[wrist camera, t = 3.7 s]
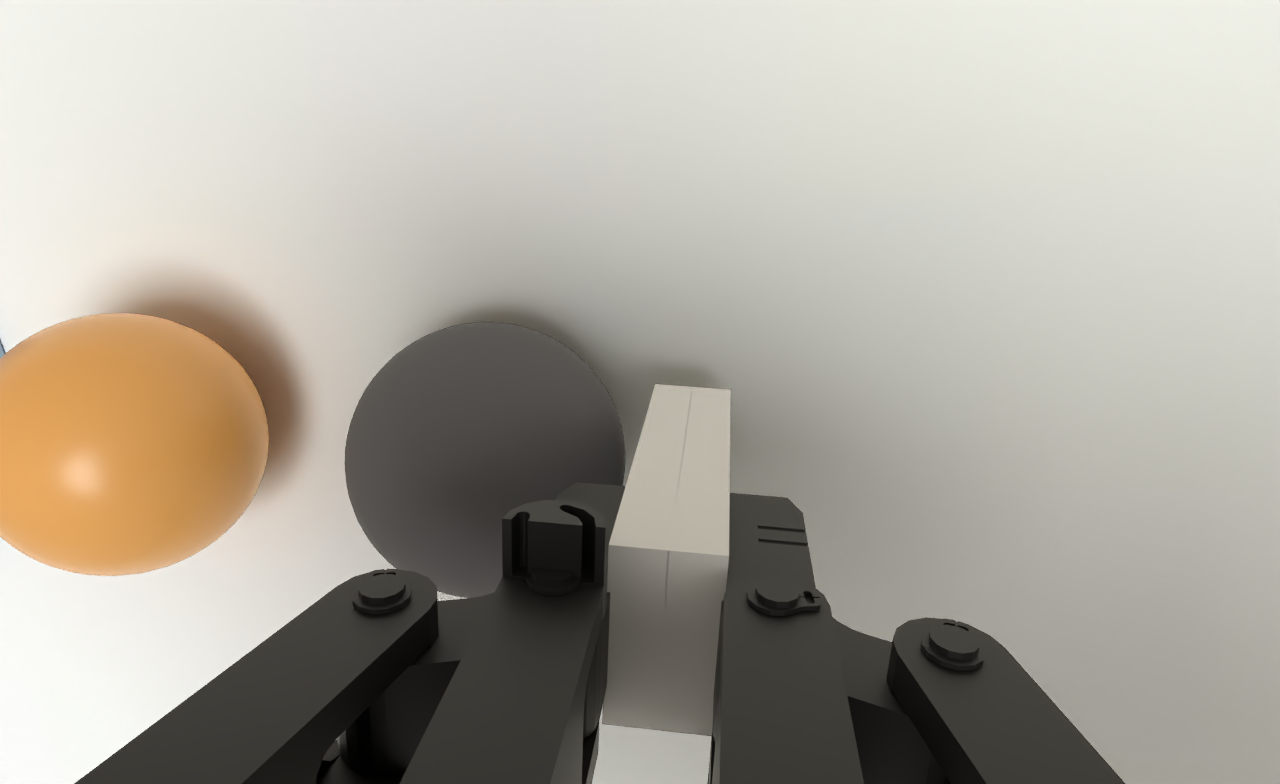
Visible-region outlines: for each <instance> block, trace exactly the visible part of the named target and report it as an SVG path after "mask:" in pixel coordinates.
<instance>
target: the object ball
mask: <svg viewBox="0 0 1280 784" xmlns="http://www.w3.org/2000/svg"><path fill="white" fill-rule="evenodd" d="M268 446H269V433H268V424H267V418H266V414H265V410H264V407H263V404H262V401H261V398H260V396H259V394H258V391H257V389H256V387H255V385H254V384H253V382H252V380H251V379H250V377H249V376H248V374H247V373H246V372H245V370H244V369H243V368H242V366H241V365H240V364H239V363H238V362H237V361H236V360H235V359H234V358H233V357H232V356H231V355H230V354H229V353H228V352H227V351H225V350H224V349H223V348H222V347H221V346H220V345H218V344H217V343H216V342H214V341H213V340H211V339H210V338H208V337H207V336H205V335H203V334H201V333H199V332H197V331H196V330H194V329H191V328H189V327H186V326H184V325H181V324H178V323H176V322H173V321H171V320H167V319H163V318H159V317H154V316H148V315H141V314H132V313H109V314H96V315H90V316H84V317H79V318H75V319H71V320H68V321H64V322H61V323H58V324H56V325H53V326H51V327H48V328H45V329H43V330H41V331H39V332H37V333H36V334H34V335H32V336H30V337H28V338H27V339H25V340H23V341H22V342H20V343H19V344H17V345H16V346H15V347H13V348H12V349H11V350H9V351H8V352H7V353H6V354H5V355H4V356H3V357H1V358H0V537H1V538H2V539H3V540H5V541H6V542H7V543H9V544H10V545H11V546H13V547H14V548H15V549H17V550H19V551H20V552H22V553H23V554H25V555H26V556H28V557H30V558H32V559H34V560H36V561H38V562H41V563H44V564H46V565H49V566H52V567H55V568H58V569H62V570H66V571H69V572H73V573H79V574H86V575H97V576H119V575H129V574H139V573H144V572H148V571H152V570H156V569H160V568H163V567H167V566H170V565H172V564H175V563H177V562H179V561H182V560H184V559H186V558H188V557H191V556H193V555H194V554H196V553H198V552H199V551H201V550H203V549H204V548H206V547H207V546H209V545H210V544H212V543H213V542H215V541H216V540H217V539H218V538H219V537H221V536H222V535H223V534H224V533H225V532H226V531H227V530H228V529H230V528H231V527H232V526H233V525H234V524H235V522H236V521H237V520H238V519H239V518H240V516H241V515H242V514H243V513H244V511H245V510H246V508H247V507H248V506H249V504H250V502H251V501H252V499H253V497H254V496H255V494H256V492H257V489H258V487H259V484H260V482H261V479H262V477H263V474H264V471H265V467H266V462H267V456H268Z"/></svg>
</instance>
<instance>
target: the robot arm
mask: <svg viewBox="0 0 1280 784" xmlns="http://www.w3.org/2000/svg"><path fill="white" fill-rule="evenodd" d="M730 400H731V390H730V389H716V388H703V387H689V386H676V385H662V384H655V387H654V390H653V394H652V397H651V400H650V404H649V407H648V411H647V414H646V418H645V421H644V425H643V428H642V432H641V435H640V438H639V442H638V445H637V449H636V452H635V456H634V459H633V463H632V466H631V469H630V473H629V476H628V480H627V483H626V486H615V485H603V484H592V483H580V482H576V483H574V484H573V485H571V486H570V487H568V488H567V489H565V490H564V491H562V492H561V493H559V494H558V496H557V498H556V500H542V501H536V502H531V503H526V504H523V505H521V506H519V507H516V508H514V509H512V510H510V511H509V512H508V513H507V514H506V515H505V516H504V517H503V518H502V570H503V576H502V578H501V580H500V582H499V584H498V586H497V588H496V590H495V592H493V593H490V594H487V595H484V596H479V597H473V598H467V599H457V600H447V601H437V586H436V585H435V584H434V583H433V582H432V581H431V580H430V579H429V578H428V577H426V576H424V575H421V574H419V573H416V572H414V571H405V570H398V569H387V570H384V569H382V570H375V571H372V572H369V573H366V574H362V575H359V576H355V577H353V578H351V579H349V580H348V581H346V582H344V583H342V584H340V585H338V586H337V587H336V588H334V589H333V590H332V591H330V592H329V593H328V594H326V595H325V596H324V597H322V598H321V599H320V600H318V601H317V602H316V603H314V604H313V605H312V606H310V607H309V608H308V609H306V610H305V611H304V612H302V613H301V614H300V615H298V616H297V617H296V618H294V619H293V620H292V621H290V622H289V623H288V624H286V625H285V626H284V627H282V628H281V629H280V630H278V631H277V632H276V633H274V634H273V635H272V636H270V637H269V638H268V639H266V640H265V641H264V642H262V643H261V644H260V645H258V646H257V647H256V648H254V649H253V650H252V651H250V652H249V653H248V654H246V655H245V656H244V657H242V658H241V659H240V660H238V661H237V662H236V663H234V664H233V665H232V666H230V667H229V668H228V669H226V670H225V671H224V672H222V673H221V674H220V675H218V676H217V677H216V678H214V679H213V680H212V681H210V682H209V683H208V684H207V685H205V686H204V687H203V688H201V689H200V690H199V691H197V692H196V693H195V694H193V695H192V696H191V697H189V698H188V699H187V700H185V701H184V702H183V703H181V704H180V705H179V706H177V707H176V708H175V709H173V710H172V711H171V712H169V713H168V714H167V715H165V716H164V717H163V718H161V719H160V720H159V721H157V722H156V723H155V724H153V725H152V726H151V727H149V728H148V729H147V730H145V731H144V732H143V733H141V734H140V735H139V736H137V737H136V738H135V739H133V740H132V741H131V742H129V743H128V744H127V745H125V746H124V747H123V748H121V749H120V750H119V751H117V752H116V753H115V754H113V755H112V756H111V757H109V758H108V759H107V760H105V761H104V762H103V763H101V764H100V765H99V766H97V767H96V768H95V769H93V770H92V771H91V772H89V773H88V774H87V775H85V776H84V777H83V778H81V779H80V780H79V781H77V782H76V783H75V784H592V779H593V774H594V769H595V765H596V760H597V755H598V741H599V719H600V714H601V710H602V705H603V720H602V724H607V725H616V726H625V727H634V728H644V729H653V730H662V731H671V732H680V733H689V734H698V735H707V736H712V740H711V751H710V763H709V774H708V784H1125V783H1124V782H1123V781H1122V779H1121V778H1120V777H1119V776H1118V775H1117V774H1116V773H1115V772H1114V770H1113V769H1112V768H1111V767H1110V766H1109V765H1108V764H1107V762H1106V761H1105V760H1104V759H1103V758H1102V757H1101V756H1100V755H1099V753H1098V752H1097V751H1096V750H1095V749H1094V748H1093V747H1092V746H1091V744H1090V743H1089V742H1088V741H1087V740H1086V739H1085V738H1084V737H1083V735H1082V734H1081V733H1080V732H1079V731H1078V730H1077V729H1076V727H1075V726H1074V725H1073V724H1072V723H1071V722H1070V721H1069V720H1068V718H1067V717H1066V716H1065V715H1064V714H1063V713H1062V712H1061V711H1060V709H1059V708H1058V707H1057V706H1056V705H1055V704H1054V703H1053V702H1052V700H1051V699H1050V698H1049V697H1048V696H1047V695H1046V694H1045V693H1044V691H1043V690H1042V689H1041V688H1040V687H1039V686H1038V685H1037V683H1036V682H1035V681H1034V680H1033V679H1032V678H1031V677H1030V676H1029V674H1028V673H1027V672H1026V671H1025V670H1024V669H1023V668H1022V667H1021V665H1020V664H1019V663H1018V662H1017V661H1016V660H1015V659H1014V658H1013V656H1012V655H1011V654H1010V653H1009V652H1008V651H1007V650H1006V649H1005V648H1004V647H1003V646H1002V645H1001V644H1000V643H998V642H997V641H996V640H995V639H993V638H992V637H991V636H990V635H988V634H986V633H984V632H982V631H980V630H978V629H976V628H974V627H972V626H970V625H968V624H965V623H962V622H959V621H958V622H955V620H949V619H937V618H922V619H916V620H911V621H908V622H906V623H904V624H903V625H901V626H900V627H898V628H897V629H896V632H895V635H894V638H893V642H889V641H886V640H882V639H879V638H875V637H872V636H869V635H866V634H863V633H860V632H858V631H855V630H852V629H850V628H848V627H847V626H845V625H843V624H841V623H839V622H838V621H836V620H835V619H834V618H833V617H832V614H831V609H830V605H829V604H828V602H827V600H826V598H825V596H824V595H823V594H822V593H821V592H819V591H818V590H817V589H816V588H815V582H814V576H813V570H812V565H811V559H810V553H809V548H808V542H807V536H806V533H805V525H804V519H803V513H802V512H801V511H800V510H799V509H798V508H797V507H796V506H795V505H794V504H793V503H792V502H791V501H790V500H789V499H788V498H783V497H771V496H759V495H748V494H736V493H730Z"/></svg>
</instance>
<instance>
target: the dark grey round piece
mask: <svg viewBox="0 0 1280 784" xmlns="http://www.w3.org/2000/svg"><path fill="white" fill-rule="evenodd" d="M624 471H625V445H624V438H623V431H622V426H621V423H620V420H619V417H618V414H617V411H616V408H615V405H614V403H613V401H612V399H611V397H610V395H609V393H608V392H607V390H606V388H605V386H604V385H603V383H602V382H601V381H600V379H599V378H598V377H597V375H596V374H595V373H594V371H593V370H592V369H591V368H590V367H589V366H588V365H587V364H586V363H585V362H584V361H583V360H582V359H581V358H580V357H579V356H578V355H577V354H576V353H574V352H573V351H572V350H570V349H569V348H567V347H566V346H565V345H563V344H562V343H560V342H558V341H556V340H555V339H553V338H551V337H549V336H547V335H545V334H543V333H541V332H538V331H534V330H531V329H528V328H525V327H521V326H518V325H513V324H506V323H496V322H475V323H468V324H462V325H457V326H452V327H448V328H445V329H442V330H439V331H437V332H434V333H431V334H429V335H426V336H425V337H423V338H421V339H419V340H417V341H415V342H414V343H412V344H411V345H409V346H407V347H406V348H404V349H403V350H402V351H400V352H399V353H397V354H396V355H395V356H394V357H393V358H392V359H391V360H390V361H389V362H388V363H387V364H386V365H385V366H384V367H383V368H382V369H381V370H380V371H379V372H378V373H377V375H376V376H375V377H374V378H373V379H372V381H371V382H370V384H369V385H368V387H367V388H366V390H365V391H364V393H363V395H362V397H361V399H360V400H359V403H358V405H357V407H356V409H355V412H354V415H353V417H352V420H351V423H350V427H349V431H348V435H347V441H346V448H345V473H346V483H347V489H348V494H349V498H350V501H351V504H352V506H353V509H354V512H355V515H356V517H357V520H358V522H359V524H360V525H361V527H362V529H363V531H364V532H365V534H366V536H367V537H368V539H369V540H370V542H371V543H372V544H373V546H374V547H375V548H376V549H377V551H378V552H379V553H380V554H381V555H382V556H383V557H384V558H385V559H386V560H387V561H388V562H389V563H390V564H391V565H393V566H394V567H395V568H396V569H398V570H405V571H414V572H416V573H419V574H421V575H424V576H426V577H428V578H429V579H430V580H431V581H432V582H433V583H434V584H435V585H436V586H437V591H439V592H442V593H446V594H450V595H454V596H459V597H466V598H473V597H479V596H484V595H487V594H490V593H493V592H495V590H496V588H497V586H498V584H499V582H500V580H501V578H502V576H503V570H502V518H503V517H504V516H505V515H506V514H507V513H508V512H509V511H510V510H512V509H514V508H516V507H519V506H521V505H523V504H526V503H531V502H536V501H542V500H556V498H557V496H558V494H559V493H561V492H562V491H564V490H565V489H567V488H568V487H570V486H571V485H573V484H574V483H576V482H580V483H592V484H603V485H615V486H622V485H623V479H624Z"/></svg>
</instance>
